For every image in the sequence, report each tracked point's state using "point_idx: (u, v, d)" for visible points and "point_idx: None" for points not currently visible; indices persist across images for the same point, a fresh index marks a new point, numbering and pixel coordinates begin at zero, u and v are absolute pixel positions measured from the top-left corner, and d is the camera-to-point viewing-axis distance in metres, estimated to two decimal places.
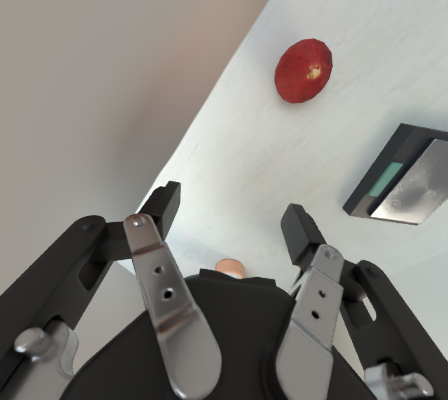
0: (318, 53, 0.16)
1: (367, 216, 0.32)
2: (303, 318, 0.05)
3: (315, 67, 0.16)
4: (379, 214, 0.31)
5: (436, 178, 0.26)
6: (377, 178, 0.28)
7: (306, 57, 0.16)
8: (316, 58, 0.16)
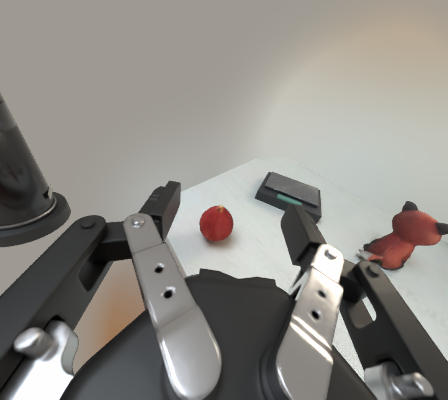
0: (211, 208, 0.28)
1: (319, 208, 0.42)
2: (303, 318, 0.05)
3: (218, 206, 0.27)
4: (315, 202, 0.43)
5: (286, 184, 0.47)
6: (288, 203, 0.41)
7: (211, 212, 0.27)
8: (213, 208, 0.28)
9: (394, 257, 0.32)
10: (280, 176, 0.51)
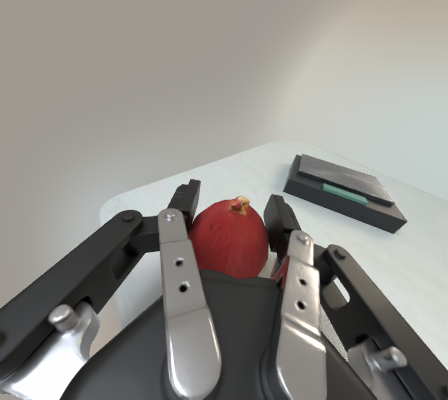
0: (215, 205, 0.11)
1: (394, 207, 0.25)
2: (291, 312, 0.05)
3: (236, 198, 0.10)
4: (386, 196, 0.26)
5: (329, 170, 0.30)
6: (343, 198, 0.24)
7: (215, 216, 0.10)
8: (221, 205, 0.11)
9: None
10: (316, 159, 0.34)
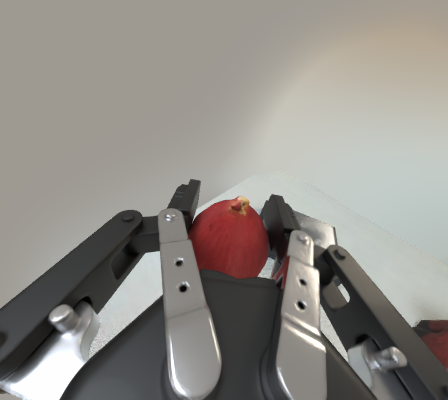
0: (215, 205, 0.11)
1: None
2: (291, 312, 0.05)
3: (235, 198, 0.10)
4: None
5: None
6: None
7: (214, 216, 0.10)
8: (221, 205, 0.11)
9: None
10: None
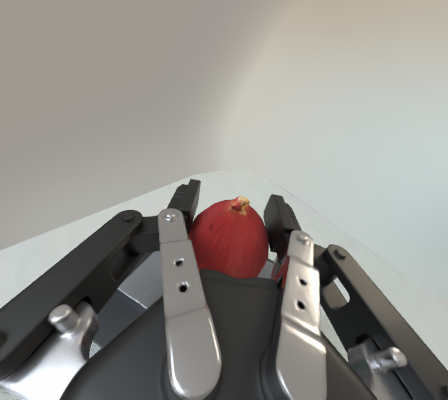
0: (215, 205, 0.11)
1: None
2: (291, 312, 0.05)
3: (236, 198, 0.10)
4: None
5: None
6: None
7: (215, 216, 0.10)
8: (221, 205, 0.10)
9: None
10: None
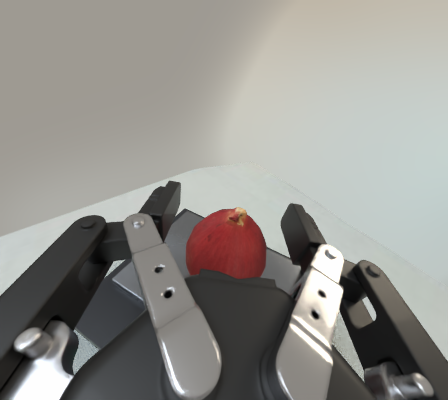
0: (214, 215, 0.11)
1: None
2: (303, 318, 0.05)
3: (233, 210, 0.10)
4: None
5: None
6: None
7: (213, 226, 0.10)
8: (219, 215, 0.11)
9: None
10: None
